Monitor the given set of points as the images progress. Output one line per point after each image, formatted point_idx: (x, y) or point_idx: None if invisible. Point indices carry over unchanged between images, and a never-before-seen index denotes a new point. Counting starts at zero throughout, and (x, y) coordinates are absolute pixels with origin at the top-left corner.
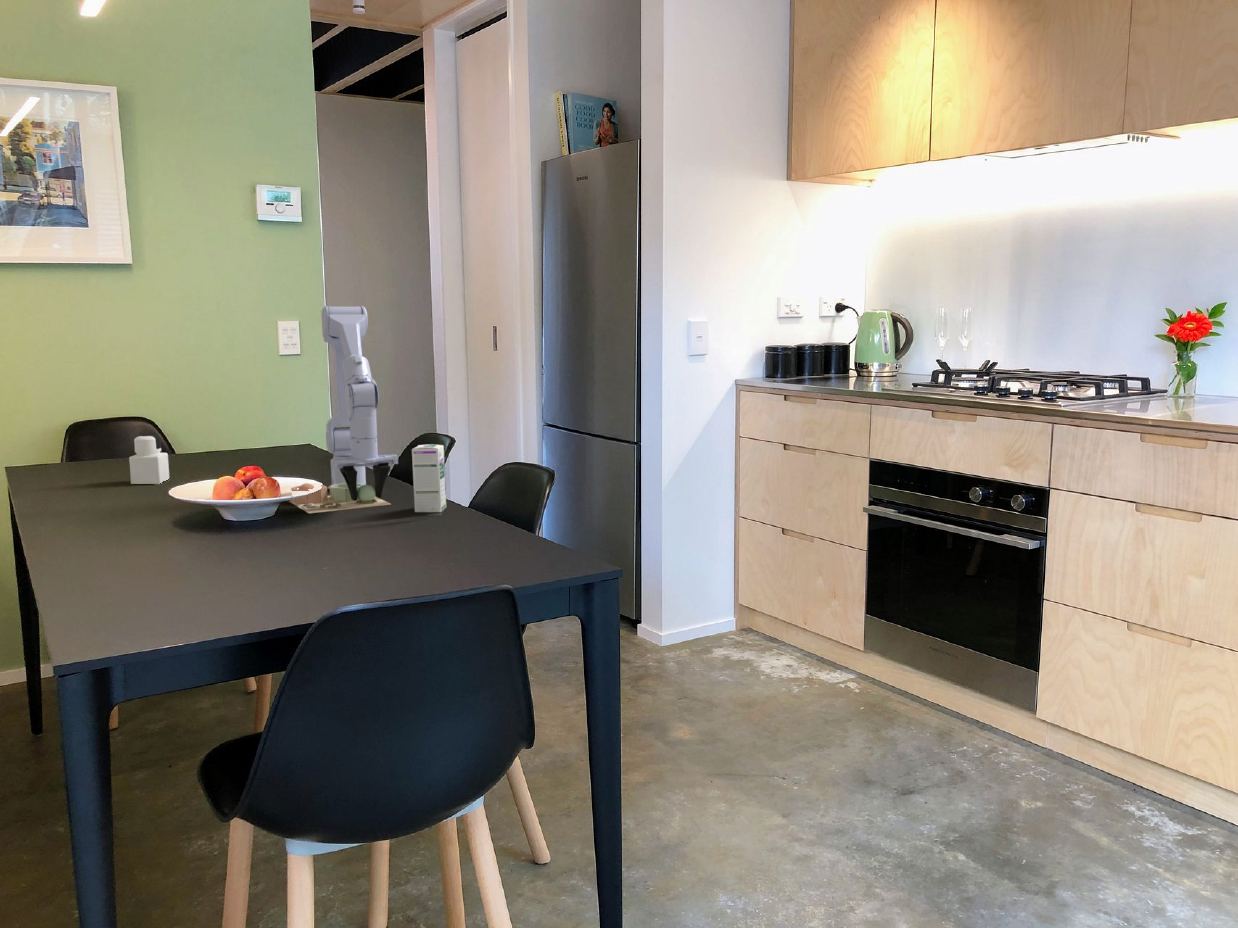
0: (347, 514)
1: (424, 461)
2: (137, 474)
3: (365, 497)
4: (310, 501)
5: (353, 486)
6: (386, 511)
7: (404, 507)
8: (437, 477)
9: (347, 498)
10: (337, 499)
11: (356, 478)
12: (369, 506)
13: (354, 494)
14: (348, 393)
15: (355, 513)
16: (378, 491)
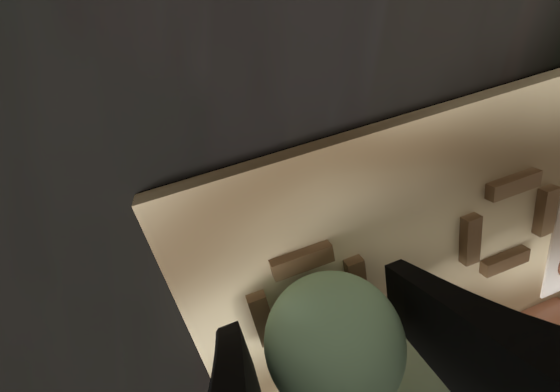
0: (455, 44)
1: None
2: None
3: (341, 274)
4: (554, 309)
5: (493, 311)
6: (179, 54)
7: (18, 188)
8: None
9: (407, 344)
10: None
11: (551, 376)
12: (311, 158)
13: (431, 275)
14: None
15: (405, 61)
16: (245, 358)
